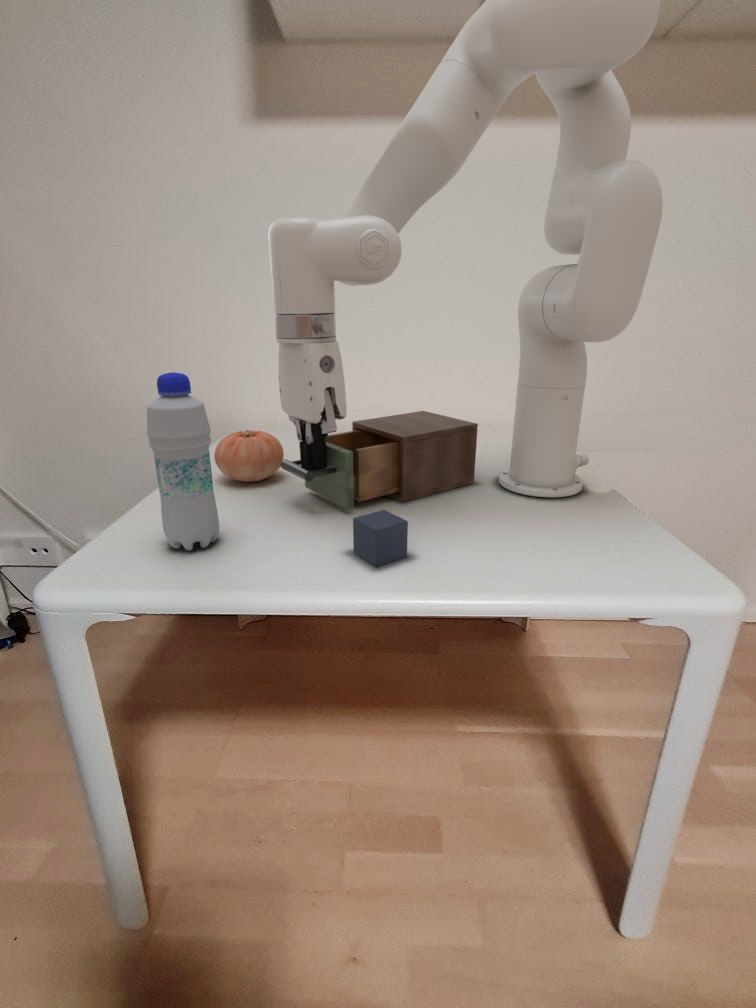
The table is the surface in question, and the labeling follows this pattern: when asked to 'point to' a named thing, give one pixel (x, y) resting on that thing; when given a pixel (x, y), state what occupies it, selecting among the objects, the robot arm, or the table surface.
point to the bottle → (182, 463)
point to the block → (380, 537)
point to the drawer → (353, 468)
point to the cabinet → (428, 451)
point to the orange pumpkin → (249, 455)
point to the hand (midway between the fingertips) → (314, 468)
